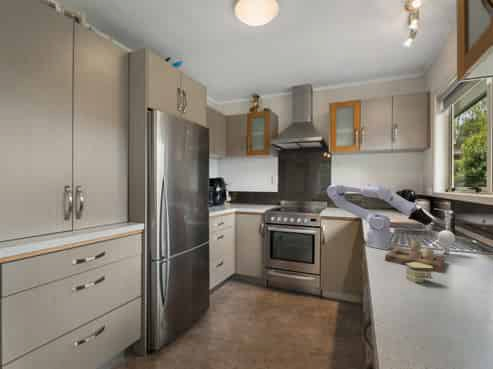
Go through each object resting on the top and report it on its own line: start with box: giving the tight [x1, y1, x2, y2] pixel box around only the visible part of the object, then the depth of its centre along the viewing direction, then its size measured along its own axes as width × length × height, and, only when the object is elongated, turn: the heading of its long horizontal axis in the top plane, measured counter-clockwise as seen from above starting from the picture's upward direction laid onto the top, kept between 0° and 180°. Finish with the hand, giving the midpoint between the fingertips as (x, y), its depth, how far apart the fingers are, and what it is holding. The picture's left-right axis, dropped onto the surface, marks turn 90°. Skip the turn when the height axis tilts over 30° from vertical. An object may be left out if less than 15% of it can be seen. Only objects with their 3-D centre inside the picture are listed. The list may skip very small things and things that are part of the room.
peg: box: [422, 248, 435, 261], centre depth 101 cm, size 4×4×6 cm
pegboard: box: [384, 247, 446, 273], centre depth 104 cm, size 18×16×2 cm
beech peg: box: [410, 239, 422, 252], centre depth 115 cm, size 4×4×6 cm
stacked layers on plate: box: [404, 262, 434, 284], centre depth 83 cm, size 10×9×6 cm
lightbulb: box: [437, 229, 456, 255], centre depth 116 cm, size 6×6×11 cm
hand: (429, 222), depth 112 cm, fingers open, 7 cm apart
